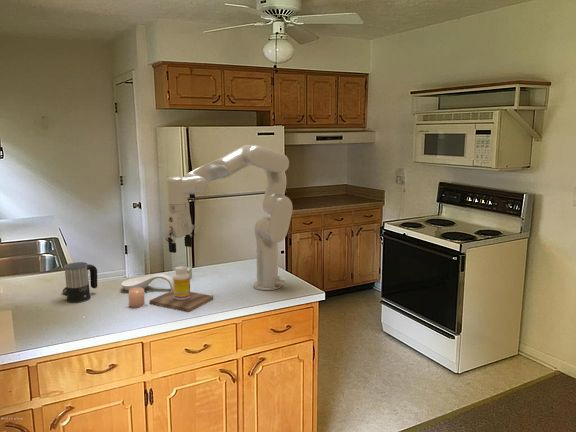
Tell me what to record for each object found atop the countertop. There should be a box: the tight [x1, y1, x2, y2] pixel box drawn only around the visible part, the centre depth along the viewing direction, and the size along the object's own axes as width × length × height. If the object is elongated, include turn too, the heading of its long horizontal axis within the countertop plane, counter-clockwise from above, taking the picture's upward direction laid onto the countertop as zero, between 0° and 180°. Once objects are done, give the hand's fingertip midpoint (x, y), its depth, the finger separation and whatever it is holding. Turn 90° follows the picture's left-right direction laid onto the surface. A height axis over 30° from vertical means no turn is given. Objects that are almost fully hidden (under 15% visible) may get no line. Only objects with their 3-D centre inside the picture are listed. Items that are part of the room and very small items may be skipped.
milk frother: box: [62, 261, 98, 303], centre depth 205 cm, size 14×16×15 cm
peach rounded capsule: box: [128, 287, 145, 308], centre depth 196 cm, size 6×6×6 cm
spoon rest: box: [120, 273, 174, 292], centre depth 214 cm, size 24×12×7 cm, turn 87°
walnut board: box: [149, 290, 214, 313], centre depth 200 cm, size 20×16×2 cm
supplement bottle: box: [172, 265, 191, 300], centre depth 199 cm, size 7×7×13 cm
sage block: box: [186, 266, 193, 280], centre depth 229 cm, size 5×5×5 cm
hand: (180, 249), depth 196 cm, fingers open, 9 cm apart
